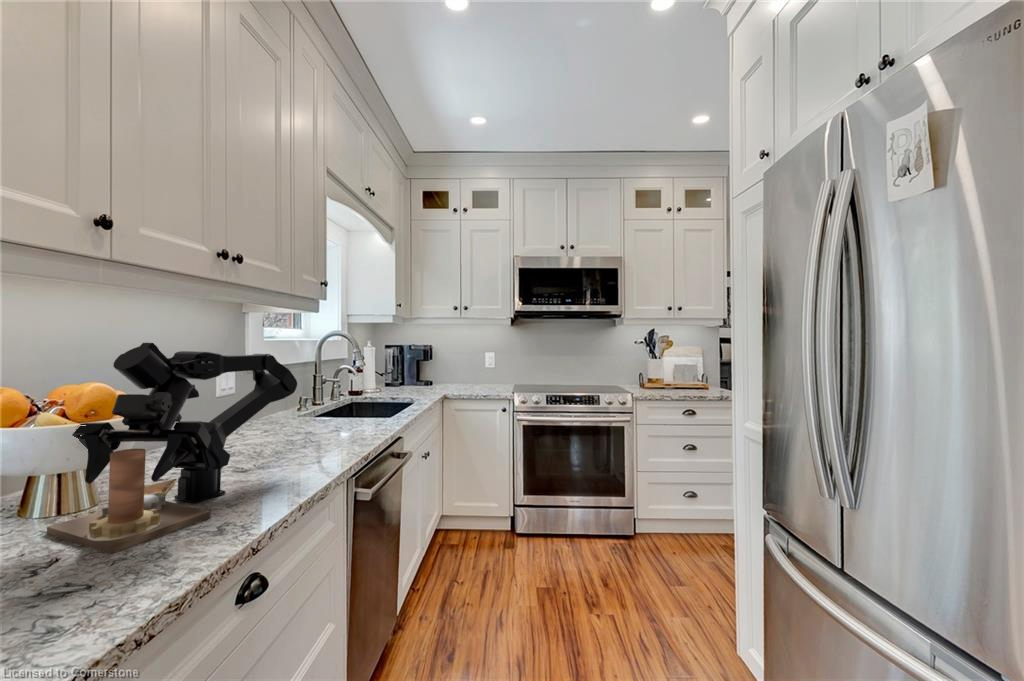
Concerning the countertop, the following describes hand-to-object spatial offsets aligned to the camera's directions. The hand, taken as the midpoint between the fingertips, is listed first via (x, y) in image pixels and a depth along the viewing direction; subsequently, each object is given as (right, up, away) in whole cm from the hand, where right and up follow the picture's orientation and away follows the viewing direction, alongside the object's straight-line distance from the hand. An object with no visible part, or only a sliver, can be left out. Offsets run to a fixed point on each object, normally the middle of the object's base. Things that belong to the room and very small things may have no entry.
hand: (120, 481), depth 69 cm
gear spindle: (0, -8, +1) cm, 8 cm away
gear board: (-3, -9, +5) cm, 11 cm away
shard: (-14, -10, +21) cm, 27 cm away
